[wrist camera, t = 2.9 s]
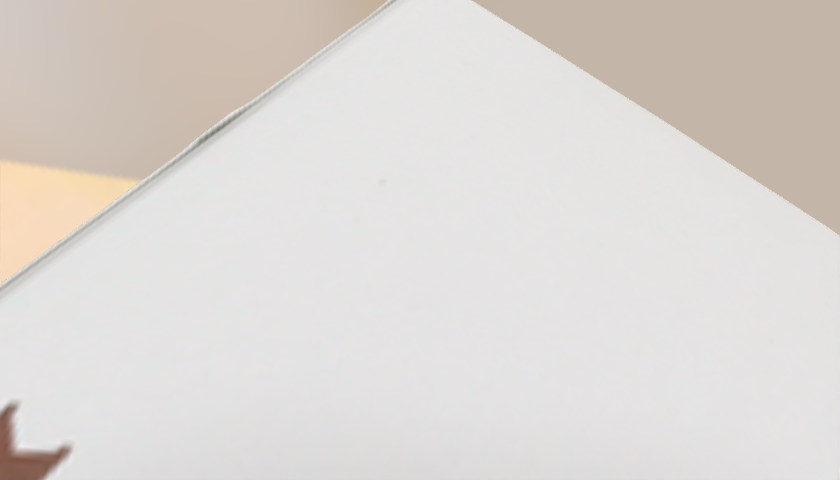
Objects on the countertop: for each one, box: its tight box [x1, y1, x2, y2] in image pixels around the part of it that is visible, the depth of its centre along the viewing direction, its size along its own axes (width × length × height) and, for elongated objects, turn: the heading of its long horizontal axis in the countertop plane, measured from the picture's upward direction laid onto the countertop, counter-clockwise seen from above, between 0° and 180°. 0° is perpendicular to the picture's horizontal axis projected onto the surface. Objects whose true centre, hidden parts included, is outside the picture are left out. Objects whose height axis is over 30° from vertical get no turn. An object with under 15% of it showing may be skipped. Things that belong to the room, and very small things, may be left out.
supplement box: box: [0, 0, 840, 480], centre depth 9 cm, size 7×7×13 cm
